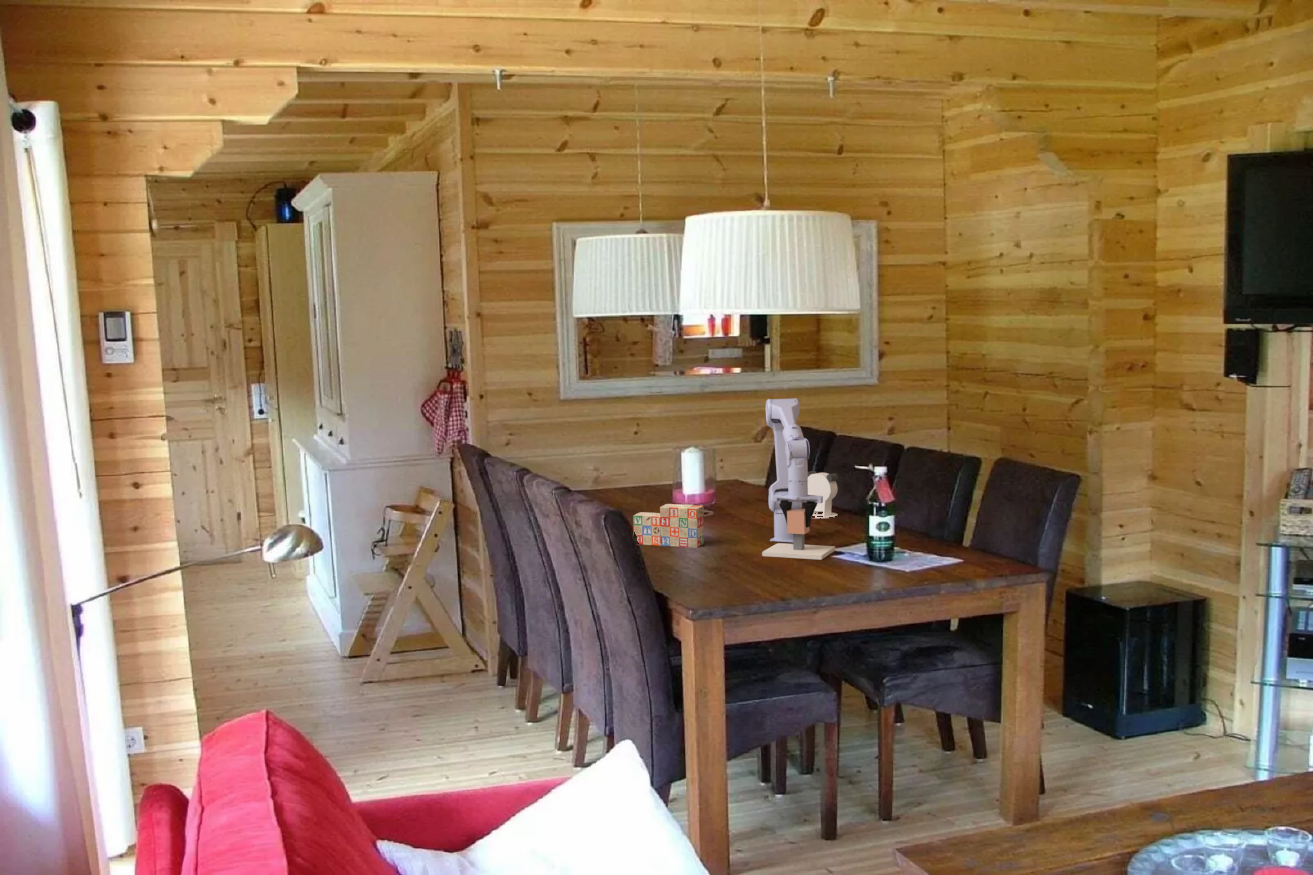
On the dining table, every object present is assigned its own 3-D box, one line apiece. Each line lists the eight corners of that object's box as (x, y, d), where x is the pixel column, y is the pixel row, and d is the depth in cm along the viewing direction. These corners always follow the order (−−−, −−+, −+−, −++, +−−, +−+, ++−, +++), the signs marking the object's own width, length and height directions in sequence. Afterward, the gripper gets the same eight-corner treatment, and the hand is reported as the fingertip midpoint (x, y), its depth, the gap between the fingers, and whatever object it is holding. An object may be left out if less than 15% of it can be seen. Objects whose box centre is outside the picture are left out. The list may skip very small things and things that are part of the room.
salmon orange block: (792, 530, 375) (792, 508, 374) (809, 531, 373) (809, 509, 372) (787, 533, 370) (787, 511, 370) (804, 534, 368) (804, 511, 368)
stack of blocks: (633, 544, 393) (632, 505, 392) (641, 540, 399) (639, 502, 397) (697, 548, 385) (696, 508, 384) (704, 544, 391) (703, 504, 389)
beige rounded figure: (845, 515, 434) (845, 472, 432) (824, 519, 426) (823, 476, 425) (819, 511, 443) (818, 469, 441) (797, 516, 435) (797, 473, 433)
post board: (777, 546, 383) (777, 525, 382) (835, 550, 375) (834, 528, 374) (762, 556, 370) (761, 533, 369) (821, 559, 362) (821, 536, 362)
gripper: (770, 481, 369) (770, 527, 371) (817, 483, 364) (818, 529, 365) (777, 478, 376) (778, 523, 377) (824, 480, 370) (825, 525, 371)
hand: (798, 526), depth 372 cm, fingers closed on salmon orange block, 5 cm apart
